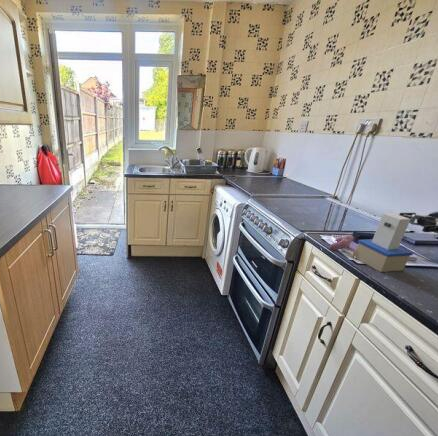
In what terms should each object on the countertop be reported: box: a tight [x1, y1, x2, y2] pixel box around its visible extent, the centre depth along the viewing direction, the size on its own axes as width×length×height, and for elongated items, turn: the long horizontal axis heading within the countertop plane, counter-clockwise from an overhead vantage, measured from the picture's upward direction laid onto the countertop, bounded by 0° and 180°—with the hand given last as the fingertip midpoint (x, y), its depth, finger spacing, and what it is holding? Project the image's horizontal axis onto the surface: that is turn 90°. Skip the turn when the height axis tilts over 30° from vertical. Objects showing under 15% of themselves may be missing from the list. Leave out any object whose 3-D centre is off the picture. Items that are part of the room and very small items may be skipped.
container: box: [353, 238, 414, 273], centre depth 86 cm, size 11×10×7 cm
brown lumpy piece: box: [329, 233, 356, 251], centre depth 97 cm, size 10×5×7 cm, turn 131°
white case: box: [372, 212, 411, 250], centre depth 83 cm, size 6×4×11 cm
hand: (409, 223), depth 83 cm, fingers open, 8 cm apart
